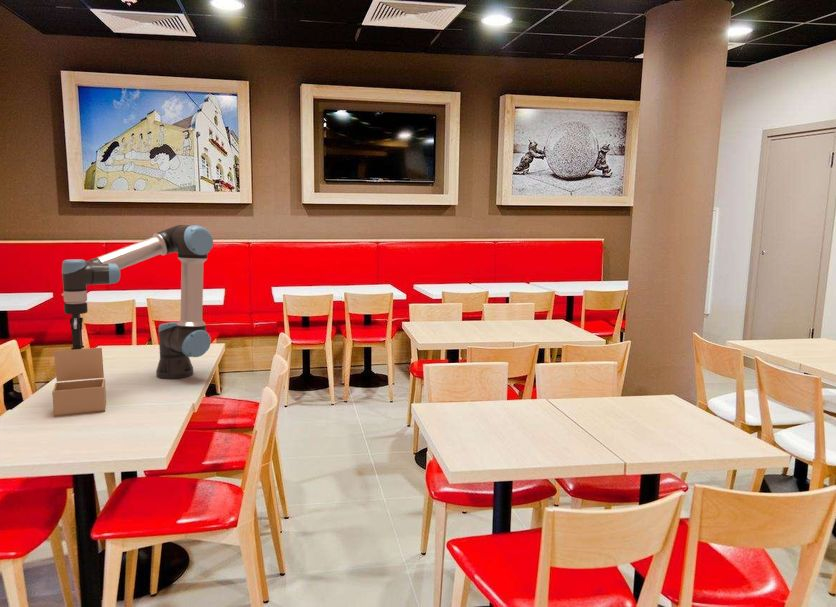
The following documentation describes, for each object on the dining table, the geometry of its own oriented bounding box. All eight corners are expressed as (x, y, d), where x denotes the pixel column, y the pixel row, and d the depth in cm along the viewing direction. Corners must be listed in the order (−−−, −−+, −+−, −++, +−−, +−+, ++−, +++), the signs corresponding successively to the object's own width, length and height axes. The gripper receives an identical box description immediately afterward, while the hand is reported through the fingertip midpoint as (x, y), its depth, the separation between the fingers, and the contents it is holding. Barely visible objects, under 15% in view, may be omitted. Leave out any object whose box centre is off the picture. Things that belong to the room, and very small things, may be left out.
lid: (103, 377, 246) (103, 377, 247) (101, 348, 242) (101, 347, 243) (56, 381, 240) (56, 380, 241) (53, 351, 236) (54, 350, 237)
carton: (106, 402, 247) (104, 378, 246) (105, 411, 237) (103, 387, 235) (57, 406, 241) (55, 382, 240) (54, 416, 230) (52, 391, 229)
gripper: (65, 300, 245) (68, 362, 248) (61, 305, 233) (65, 370, 236) (88, 299, 248) (91, 361, 251) (85, 304, 236) (88, 369, 239)
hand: (78, 366), depth 244 cm, fingers closed
